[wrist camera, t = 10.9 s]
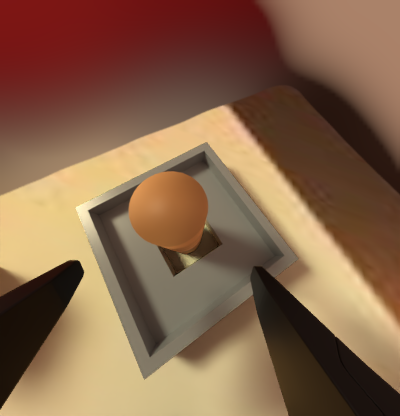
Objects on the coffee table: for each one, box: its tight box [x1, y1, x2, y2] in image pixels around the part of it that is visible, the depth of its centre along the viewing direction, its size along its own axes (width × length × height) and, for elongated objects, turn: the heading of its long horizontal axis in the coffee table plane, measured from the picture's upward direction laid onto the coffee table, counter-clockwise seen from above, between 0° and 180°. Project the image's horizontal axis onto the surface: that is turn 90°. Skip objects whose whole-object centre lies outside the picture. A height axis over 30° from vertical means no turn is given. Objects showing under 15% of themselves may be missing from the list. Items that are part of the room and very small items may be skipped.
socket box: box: [75, 142, 298, 380], centre depth 18 cm, size 17×17×4 cm
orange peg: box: [129, 171, 208, 254], centre depth 14 cm, size 4×4×13 cm
